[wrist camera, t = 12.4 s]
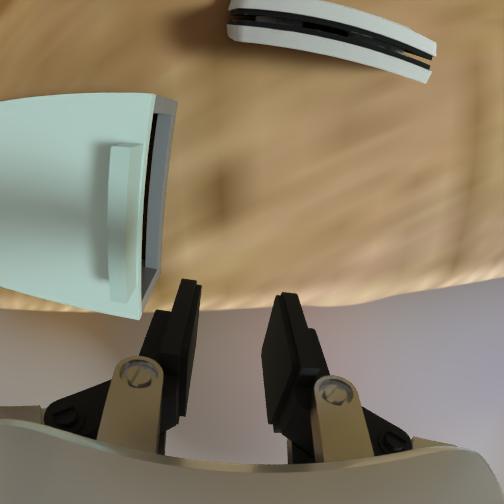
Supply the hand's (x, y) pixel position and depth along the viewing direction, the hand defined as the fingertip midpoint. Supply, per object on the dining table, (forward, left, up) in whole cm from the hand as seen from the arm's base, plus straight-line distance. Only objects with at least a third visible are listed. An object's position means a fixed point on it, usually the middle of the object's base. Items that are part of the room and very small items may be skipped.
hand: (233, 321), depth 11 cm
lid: (0, -14, -10) cm, 18 cm away
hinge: (-17, +5, -18) cm, 25 cm away
